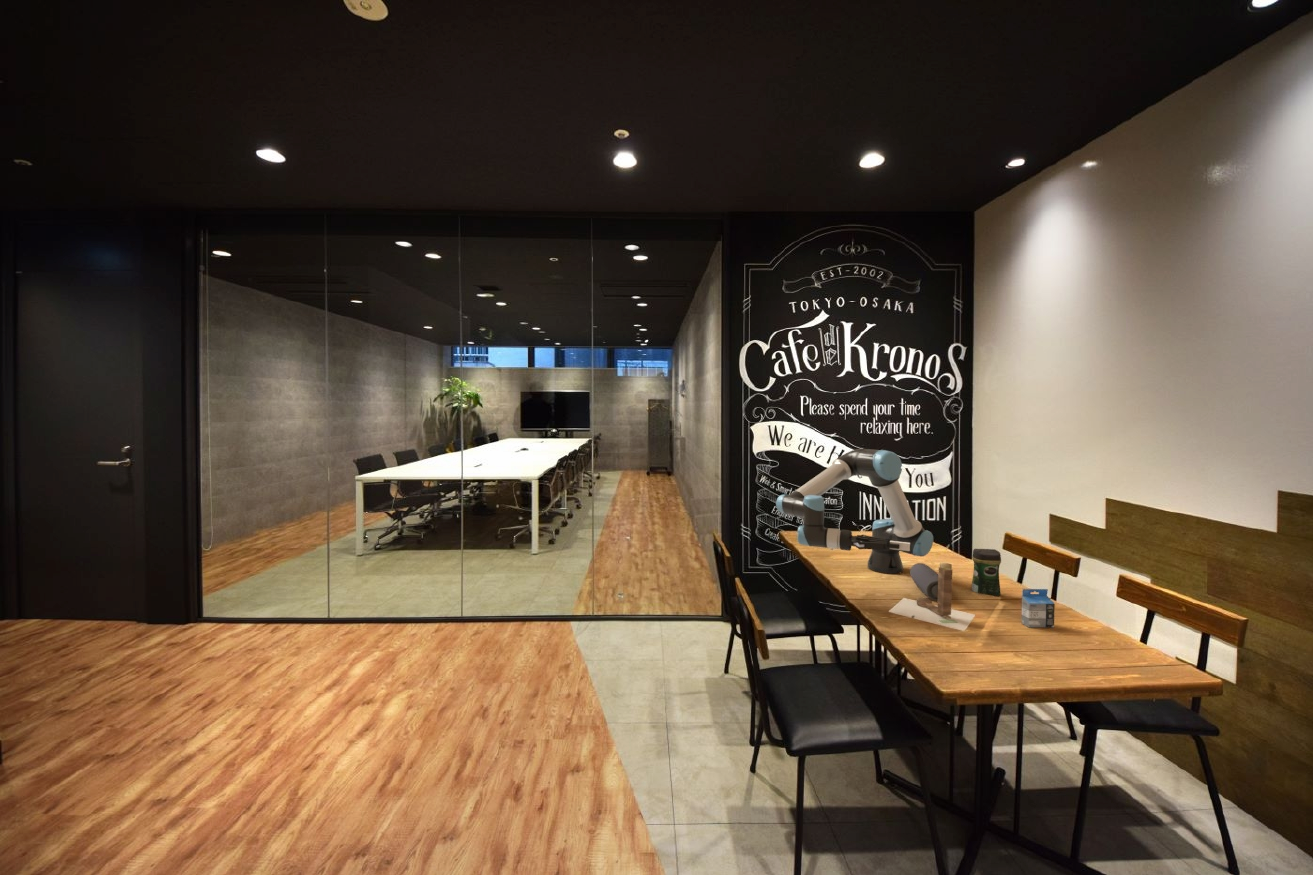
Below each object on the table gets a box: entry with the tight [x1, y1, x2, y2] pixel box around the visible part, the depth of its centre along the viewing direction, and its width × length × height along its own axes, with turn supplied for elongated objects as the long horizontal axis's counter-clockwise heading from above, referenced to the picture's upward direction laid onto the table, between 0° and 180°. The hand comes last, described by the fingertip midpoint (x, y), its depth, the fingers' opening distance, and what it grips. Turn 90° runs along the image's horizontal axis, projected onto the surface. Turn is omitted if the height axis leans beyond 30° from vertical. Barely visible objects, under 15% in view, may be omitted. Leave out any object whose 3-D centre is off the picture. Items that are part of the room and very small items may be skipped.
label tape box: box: [1020, 588, 1056, 628], centre depth 177 cm, size 9×4×12 cm, turn 89°
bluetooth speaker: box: [909, 562, 939, 602], centre depth 206 cm, size 23×9×10 cm, turn 168°
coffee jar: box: [970, 548, 1002, 598], centre depth 206 cm, size 10×8×19 cm
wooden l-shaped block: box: [916, 562, 953, 619], centre depth 185 cm, size 16×5×19 cm, turn 6°
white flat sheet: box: [888, 597, 976, 632], centre depth 184 cm, size 24×18×2 cm
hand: (909, 546), depth 182 cm, fingers closed
